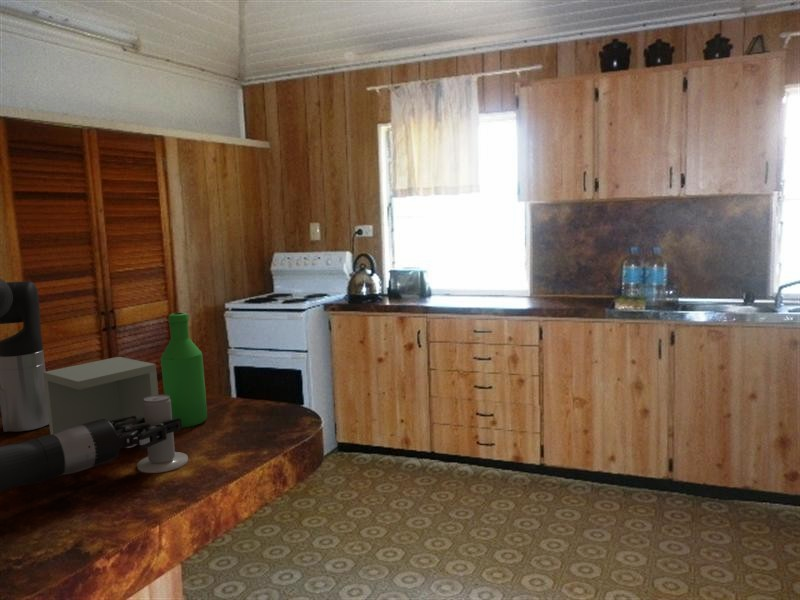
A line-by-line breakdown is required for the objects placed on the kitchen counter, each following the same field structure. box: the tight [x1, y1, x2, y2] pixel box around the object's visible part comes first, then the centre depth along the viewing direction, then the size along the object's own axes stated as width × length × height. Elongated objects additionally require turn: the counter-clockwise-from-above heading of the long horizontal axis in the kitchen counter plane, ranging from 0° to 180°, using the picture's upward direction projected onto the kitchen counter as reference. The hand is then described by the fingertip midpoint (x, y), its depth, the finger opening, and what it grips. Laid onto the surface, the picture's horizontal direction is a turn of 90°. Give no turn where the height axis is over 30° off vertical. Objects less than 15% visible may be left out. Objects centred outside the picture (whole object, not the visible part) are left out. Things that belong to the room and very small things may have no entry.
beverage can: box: [143, 394, 176, 464], centre depth 123 cm, size 5×5×12 cm
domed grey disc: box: [136, 451, 189, 474], centre depth 124 cm, size 9×9×1 cm
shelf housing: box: [43, 356, 160, 435], centre depth 131 cm, size 16×14×17 cm
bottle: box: [160, 312, 208, 429], centre depth 146 cm, size 9×9×25 cm
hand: (171, 420), depth 125 cm, fingers open, 5 cm apart
